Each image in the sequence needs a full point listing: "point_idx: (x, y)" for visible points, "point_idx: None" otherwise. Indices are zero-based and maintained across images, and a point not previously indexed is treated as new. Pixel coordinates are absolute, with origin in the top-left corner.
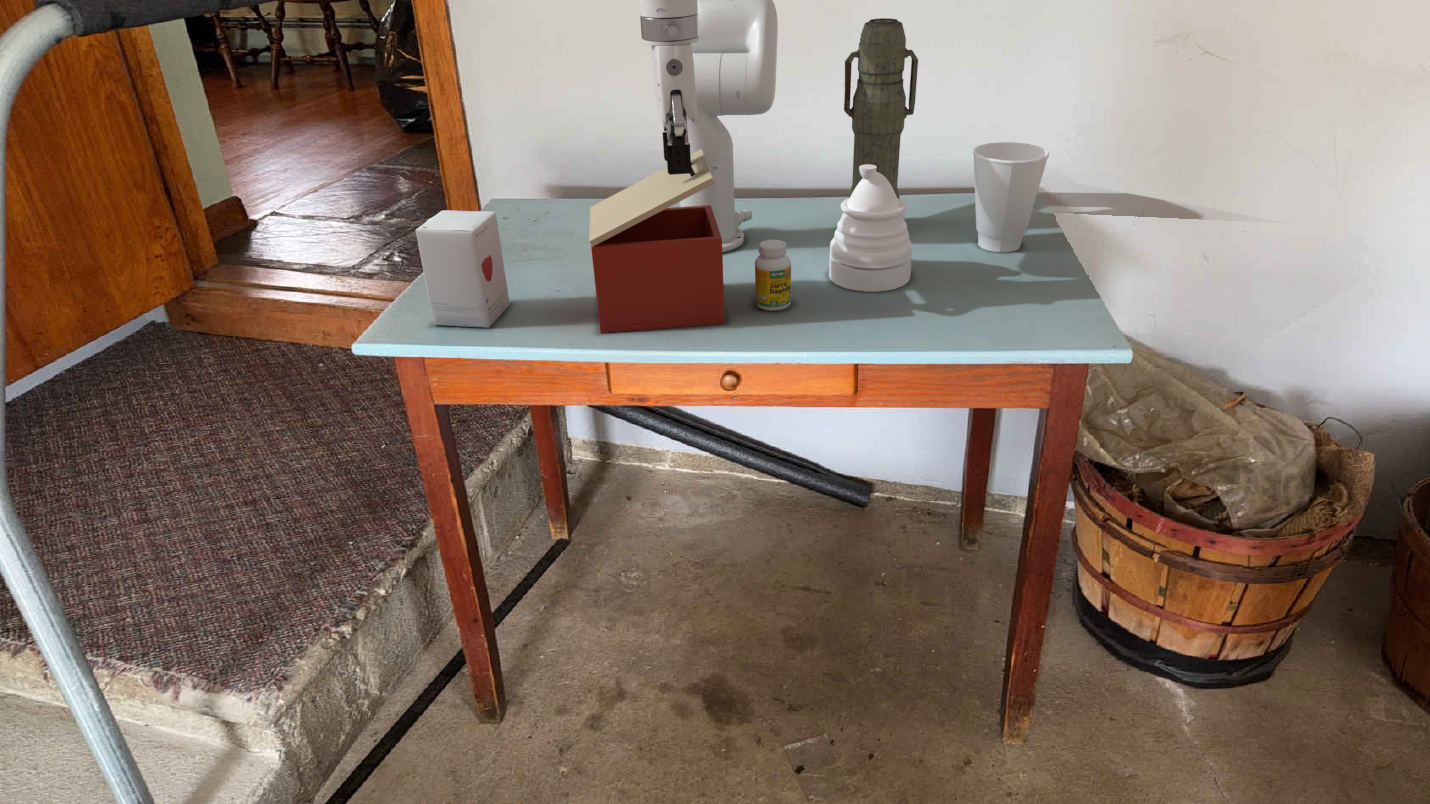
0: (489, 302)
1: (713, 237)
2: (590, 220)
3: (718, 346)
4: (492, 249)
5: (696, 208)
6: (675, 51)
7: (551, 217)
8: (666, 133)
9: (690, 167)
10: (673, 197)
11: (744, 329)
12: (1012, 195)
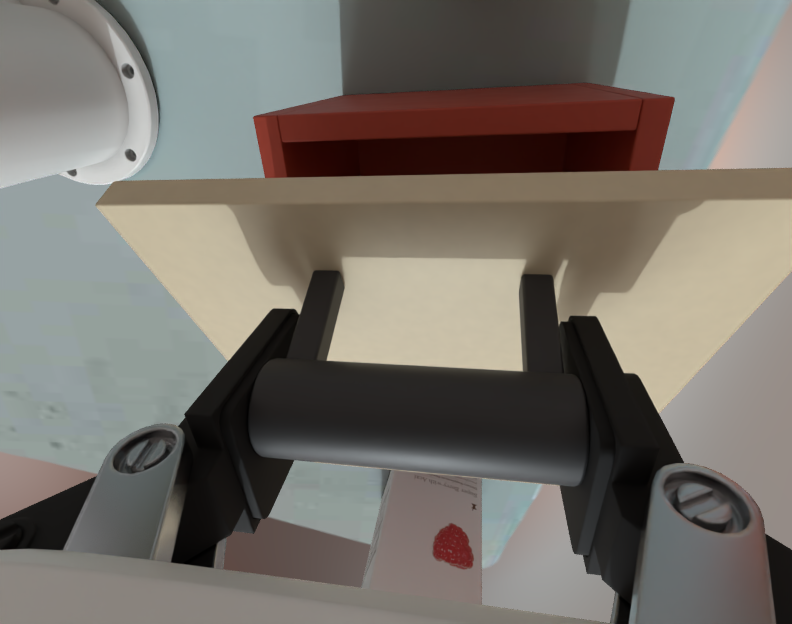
0: (467, 500)
1: (647, 134)
2: (424, 472)
3: (711, 108)
4: (421, 560)
5: (287, 175)
6: None
7: (30, 388)
8: (250, 513)
9: (602, 332)
10: (701, 366)
11: (639, 27)
12: None
